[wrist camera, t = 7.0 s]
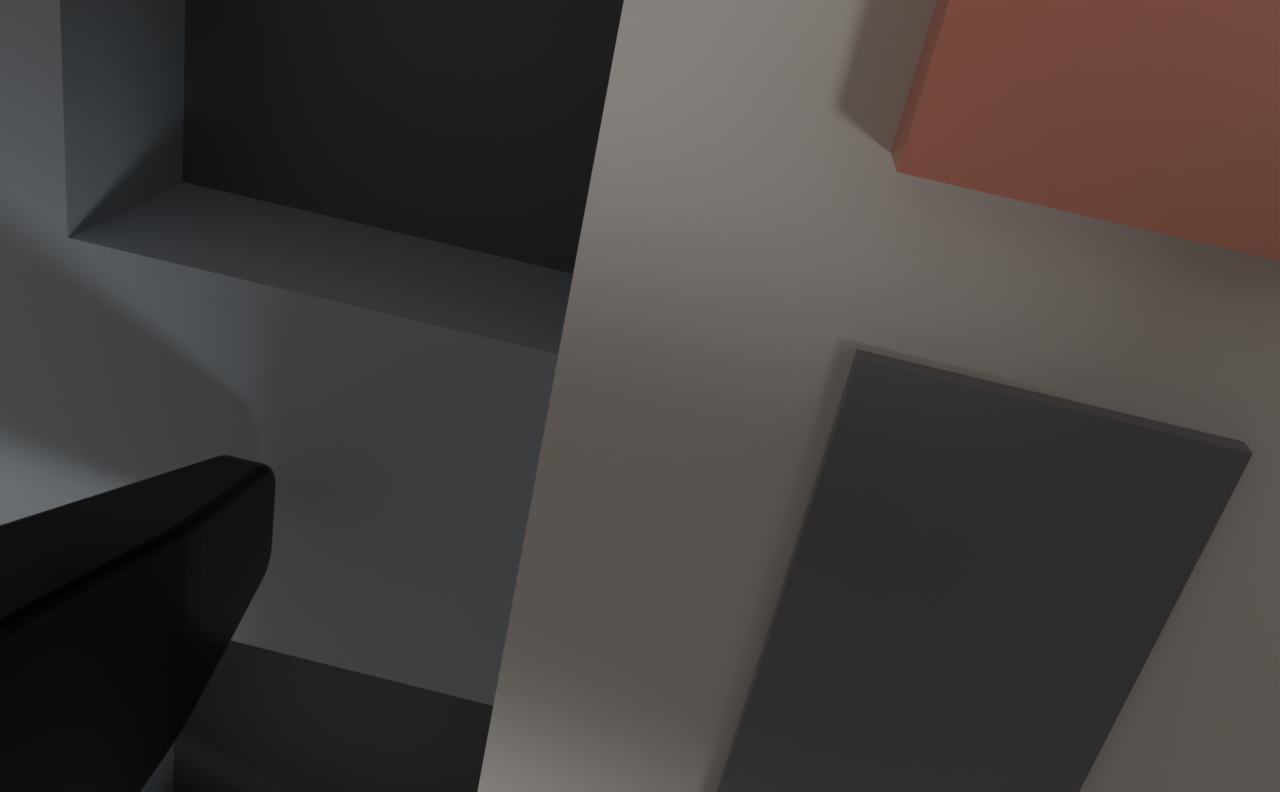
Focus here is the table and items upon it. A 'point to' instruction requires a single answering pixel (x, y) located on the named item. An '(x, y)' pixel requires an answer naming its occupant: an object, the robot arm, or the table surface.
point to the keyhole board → (306, 332)
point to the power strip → (914, 409)
